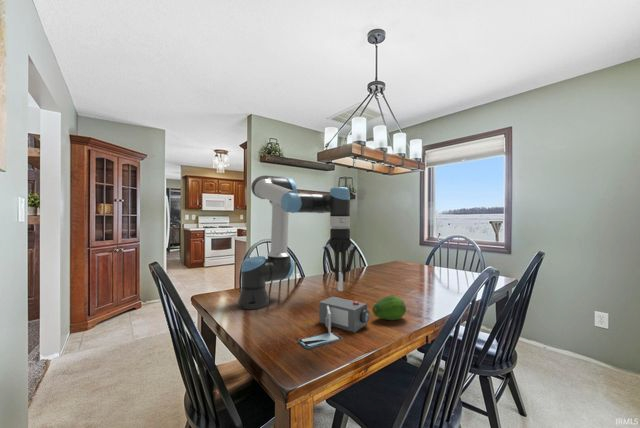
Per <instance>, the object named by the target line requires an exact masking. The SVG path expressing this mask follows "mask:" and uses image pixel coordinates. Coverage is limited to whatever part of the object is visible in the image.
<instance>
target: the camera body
mask: <svg viewBox="0 0 640 428" xmlns="http://www.w3.org/2000/svg"><path fill="white" fill-rule="evenodd" d="M327 305H329V309H330V313H331V327H333V328H339V329H342V330H344V331H347V332H351V333H357V332H358V331H359V330H361V329H363V328H364V327H365V326H367V325H368V322H369V320H370V311H369V310H368V303H365V302H360V301H358V300H351V299H346V298H341V297H338V296H337V297H336V296H329V297H328V298H325V299H323V300H321V301H319V302H318V307H319V309H318V313H319V314H318V316H319V317H318V319H319V320H318V323H321V324H324V325H326V317H327Z"/></svg>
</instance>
